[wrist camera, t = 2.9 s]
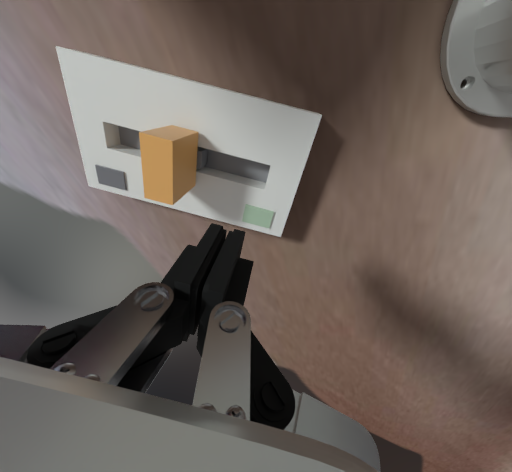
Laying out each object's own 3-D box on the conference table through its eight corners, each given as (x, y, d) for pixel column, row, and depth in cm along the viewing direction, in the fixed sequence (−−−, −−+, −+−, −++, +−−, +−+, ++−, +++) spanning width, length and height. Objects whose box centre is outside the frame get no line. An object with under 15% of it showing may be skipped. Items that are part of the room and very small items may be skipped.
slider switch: (318, 113, 20) (322, 115, 17) (282, 223, 26) (280, 238, 24) (85, 52, 20) (53, 45, 17) (108, 177, 26) (87, 186, 24)
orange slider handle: (210, 129, 21) (176, 142, 15) (205, 179, 23) (176, 206, 18) (179, 121, 21) (134, 130, 15) (179, 172, 23) (140, 196, 18)
